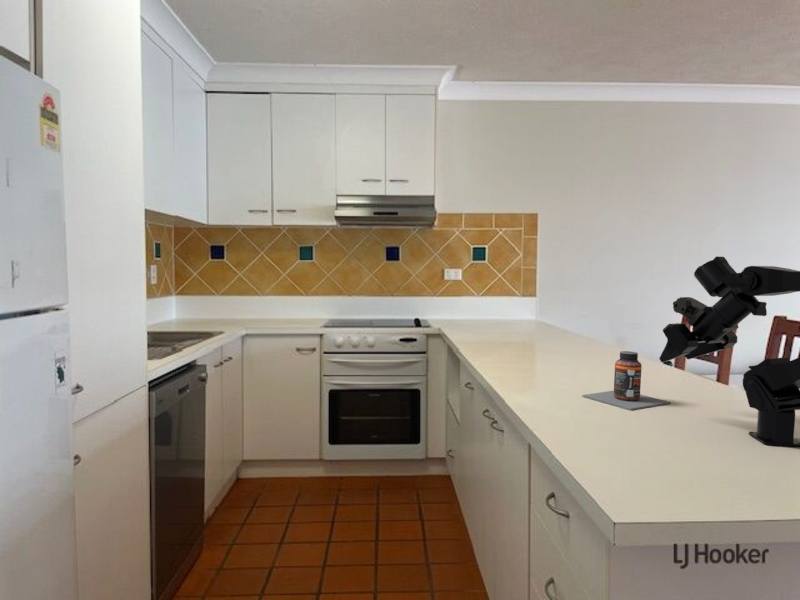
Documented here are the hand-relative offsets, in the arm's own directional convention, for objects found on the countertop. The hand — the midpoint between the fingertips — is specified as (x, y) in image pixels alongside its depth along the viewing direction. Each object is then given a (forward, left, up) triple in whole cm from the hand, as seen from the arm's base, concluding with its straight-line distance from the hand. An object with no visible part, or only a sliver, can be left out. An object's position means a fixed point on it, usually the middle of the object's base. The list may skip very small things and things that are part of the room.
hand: (673, 359), depth 122 cm
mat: (+9, +8, -12) cm, 17 cm away
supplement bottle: (+9, +7, -12) cm, 16 cm away
